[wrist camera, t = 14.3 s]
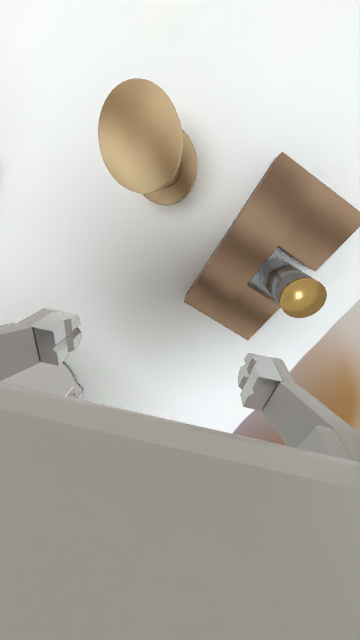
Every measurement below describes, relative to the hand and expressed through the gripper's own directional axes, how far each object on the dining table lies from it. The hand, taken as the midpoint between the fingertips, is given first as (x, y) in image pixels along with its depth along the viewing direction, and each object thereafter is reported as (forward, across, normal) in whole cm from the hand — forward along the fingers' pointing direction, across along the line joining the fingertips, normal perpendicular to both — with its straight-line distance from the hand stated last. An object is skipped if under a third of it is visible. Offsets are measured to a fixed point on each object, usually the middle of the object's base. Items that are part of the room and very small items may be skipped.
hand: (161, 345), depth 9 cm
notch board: (+22, -10, -2) cm, 24 cm away
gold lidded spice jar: (+22, -12, -1) cm, 25 cm away
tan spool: (+23, +5, -10) cm, 26 cm away
